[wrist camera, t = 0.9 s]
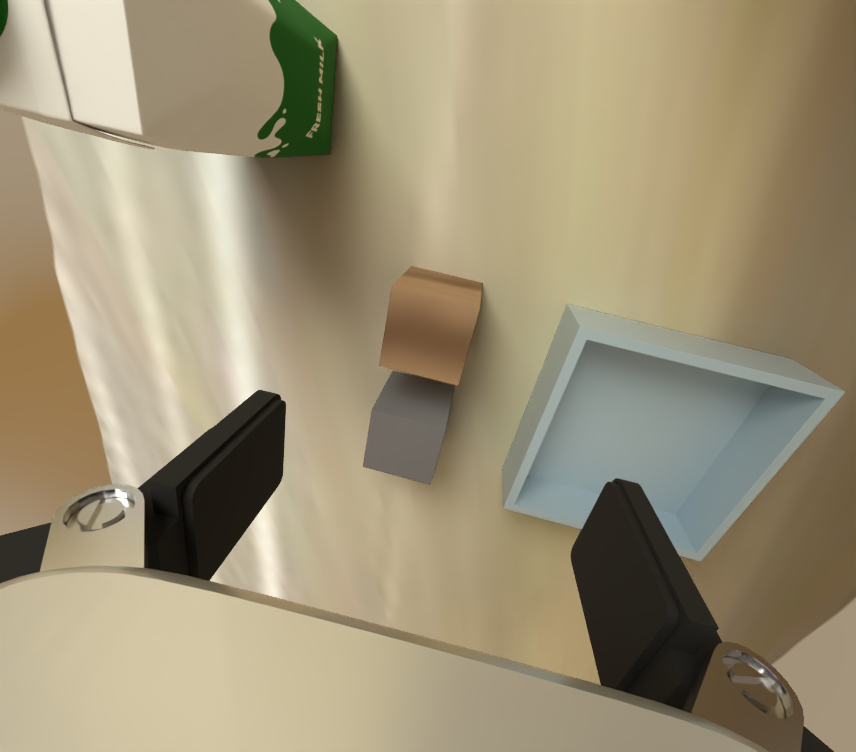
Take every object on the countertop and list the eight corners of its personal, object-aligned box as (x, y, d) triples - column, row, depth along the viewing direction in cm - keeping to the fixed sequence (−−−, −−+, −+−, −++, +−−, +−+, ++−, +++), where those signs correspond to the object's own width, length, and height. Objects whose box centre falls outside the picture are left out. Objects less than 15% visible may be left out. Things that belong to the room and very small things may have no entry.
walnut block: (411, 265, 32) (391, 286, 25) (482, 283, 31) (479, 308, 25) (399, 332, 34) (379, 365, 28) (464, 348, 34) (458, 385, 28)
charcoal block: (392, 370, 36) (371, 409, 30) (454, 386, 36) (445, 429, 30) (383, 421, 39) (362, 466, 33) (440, 436, 39) (430, 484, 33)
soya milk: (222, -6, 25) (-395, -426, 8) (354, 21, 25) (19, -357, 7) (230, 146, 29) (-161, 97, 12) (342, 171, 29) (111, 159, 11)
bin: (567, 304, 31) (579, 326, 26) (791, 358, 30) (845, 391, 26) (502, 469, 40) (503, 508, 35) (675, 515, 39) (700, 561, 34)
